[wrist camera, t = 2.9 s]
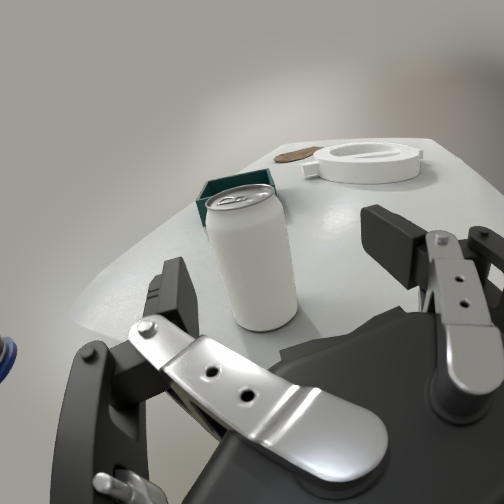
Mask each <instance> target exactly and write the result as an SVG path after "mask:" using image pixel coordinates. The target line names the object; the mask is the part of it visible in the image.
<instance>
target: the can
mask: <svg viewBox="0 0 504 504" xmlns="http://www.w3.org/2000/svg"><path fill="white" fill-rule="evenodd" d="M274 193H275V189H274V187H272V186H270V185H265V184H252V185H244V186H239V187H235V188H231V189H228V190H225V191H222V192H220V193H218V194H216V195H214V196H212V197H211V198H209V199H208V200H207V201H206V203H205V206H206V208H207V216H206V228H207V232H208V236H209V239H210V243H211V246H212V249H213V253H214V256H215V259H216V263H217V266H218V269H219V272H220V276H221V279H222V282H223V285H224V288H225V291H226V295H227V298H228V301H229V304H230V307H231V310H232V313H233V315H234V318H235V320H236V322H237V323H238V324H239V325H240V326H242V327H244V328H246V329H249V330H252V331H258V332H264V331H271V330H274V329H277V328H279V327H281V326H283V325H285V324H286V323H287V322H288V321H289V320H290V319H291V318H292V317H293V316H294V315H295V314H296V312H297V308H298V303H297V294H296V286H295V279H294V272H293V265H292V258H291V251H290V245H289V239H288V232H287V226H286V220H285V215H284V210H283V206H282V204H281V202H280V201H279V200H278V198H277V197H276V196H275V194H274Z"/></svg>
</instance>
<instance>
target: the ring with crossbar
mask: <svg viewBox="0 0 504 504" xmlns="http://www.w3.org/2000/svg"><path fill="white" fill-rule="evenodd" d="M313 156H314V161H310V162H304V163H300V170H301V173H302V174H303V175H304V176H307V175H313V174H317V175H318V176H319V177H321V178H323V179H326V180H330V181H335V182H342V183H353V184H381V183H392V182H399V181H404V180H408V179H411V178H413V177H415V176H417V175H418V174H419V173H420V159H423V150H420V149H417V148H413V147H410V146H406V145H401V144H395V143H384V142H359V143H347V144H340V145H334V146H329V147H325V148H322V149H320V150H317V151H316V152H314V154H313Z"/></svg>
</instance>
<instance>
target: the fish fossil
mask: <svg viewBox="0 0 504 504" xmlns="http://www.w3.org/2000/svg"><path fill="white" fill-rule="evenodd" d="M322 148H324V147H315V146H314V147H310V148H306V149H302V150H298V151H294V152H290V153H286V154H281V155H279V156H276V157H275V158H274V161H275V160H276V161H279V162H282V163H285V162H288V161H293V160H297V159H302V158H306V157H307V156H309V155H312V154H314V152H316V151H317V150H320V149H322Z"/></svg>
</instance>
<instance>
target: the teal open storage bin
mask: <svg viewBox="0 0 504 504" xmlns="http://www.w3.org/2000/svg"><path fill="white" fill-rule="evenodd" d="M252 184H265V185H270V186H272V187H274V189H275V184H274V181H273V179H272V176H271V173H270V171H269V168H268V169H263V170H257V171H252V172H247V173H242V174H238V175H233V176H228V177H224V178H219V179H215V180H211V181H206V183H205V185H204V187H203V189H202V191H201V192H200V194H199V196H198V198H197V200H196V204H197V207H198V211H199V214H200V218H201V221H202V224H203V226H206V216H207V208H206V206H205V203H206V201H207V200H208V199H209V198H211V197H212V196H214V195H216V194H218V193H220V192H222V191H225V190H228V189H231V188H235V187H239V186H244V185H252ZM274 194H275V196H276V197H277V194H276V189H275V193H274Z"/></svg>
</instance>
